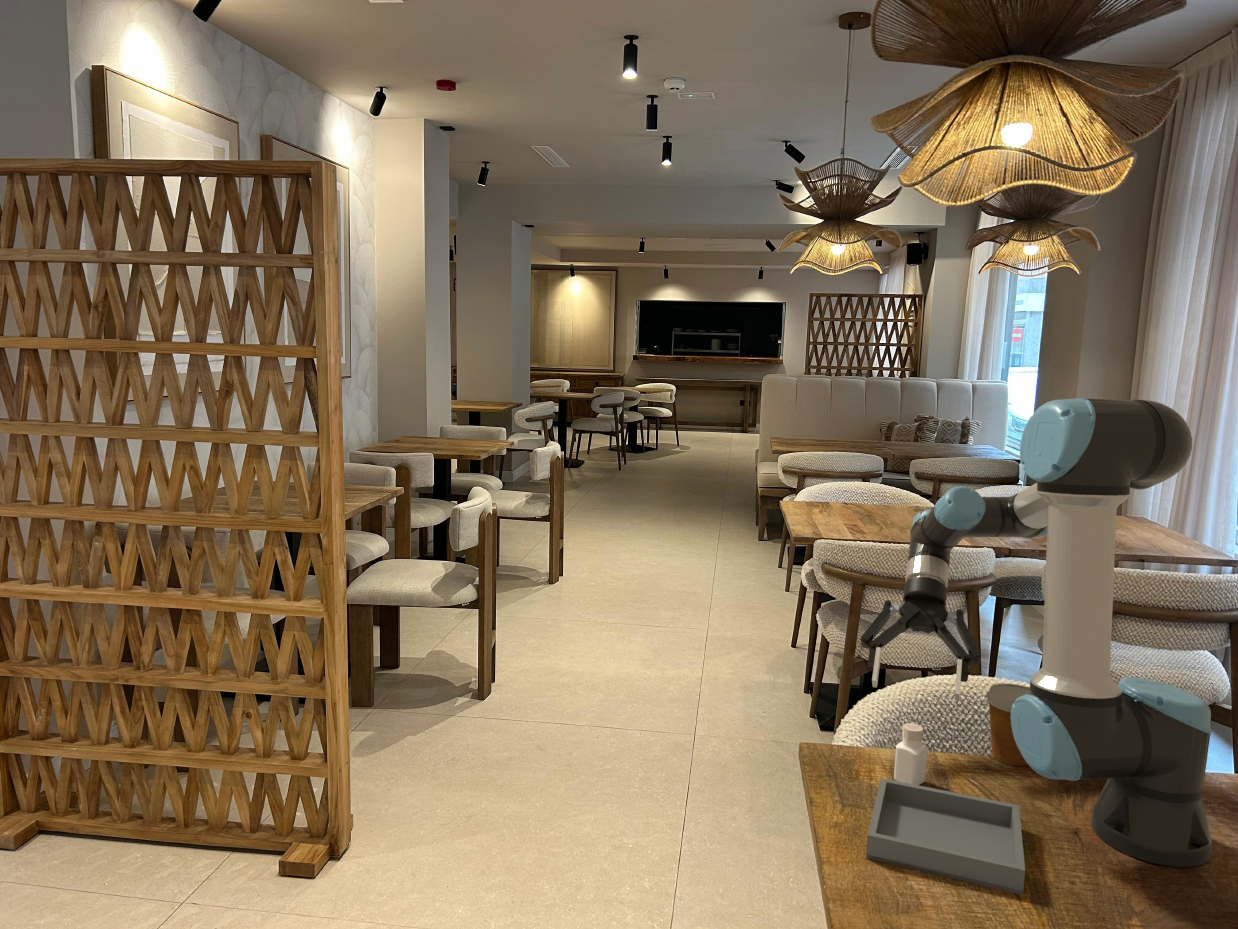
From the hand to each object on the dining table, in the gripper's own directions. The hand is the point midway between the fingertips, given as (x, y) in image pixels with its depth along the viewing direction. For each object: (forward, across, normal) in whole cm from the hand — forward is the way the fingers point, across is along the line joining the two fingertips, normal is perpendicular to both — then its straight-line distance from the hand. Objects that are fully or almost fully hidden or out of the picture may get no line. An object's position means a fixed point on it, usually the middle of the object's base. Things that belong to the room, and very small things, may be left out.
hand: (914, 690), depth 150 cm
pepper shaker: (+15, 0, -3) cm, 15 cm away
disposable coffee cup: (+3, -16, -15) cm, 22 cm away
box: (+27, -7, +9) cm, 29 cm away
